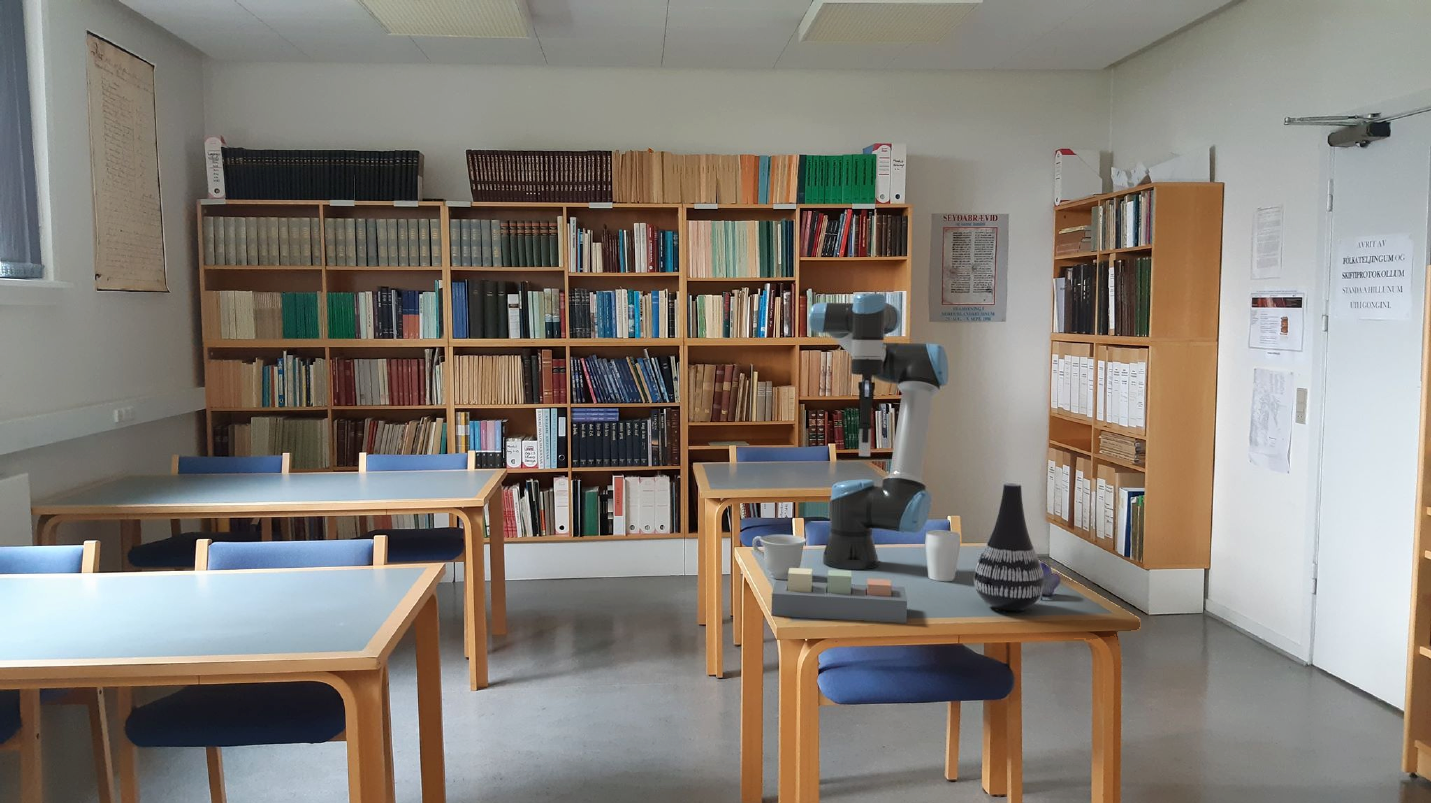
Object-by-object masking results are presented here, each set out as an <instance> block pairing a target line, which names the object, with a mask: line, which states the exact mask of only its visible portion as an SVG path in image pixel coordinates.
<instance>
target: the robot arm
mask: <svg viewBox="0 0 1431 803" xmlns="http://www.w3.org/2000/svg"><path fill="white" fill-rule="evenodd" d="M808 315H809V316H808V322H809V323H808V324H809V326H810V329H811V331H813V333H814V332H815V333H820V334H824V333H825V334H828V335H829V336H830V337H831V338H832V339H833V340H834V341H836V342H837V344H839V346H841V347H842V348H843V350H845V351H846V353H847V354H849V355H850V356H851V357H852V360H851V363H850V364H851V366H850V368H851V369H850V370H851V371H850V372H851V374H852V375H857V376H859V375H860V376H861V381H858V382H857V383H858V384H857V388H858V399H859V401H860V412H859V413H860V418H859V419H860V420H859V426H858V425H857V427H856V429H857V430H859V440H858V456H859V457H871V444H872V443H871V442H872V429H874V425H872V409H873V408H872V402H873V401H874V397H875V394H874V391H875V390H876V383H875V381H872V379H876V380H878V381H880V382H884V383H887V384H897V388H898V390H899V392H900V393H901V398H900V404H899V410H898V418H897V424H896V429H895V430H896V431H895V437H894V444H893V448H892V449H893V451H892V456H891V462H890V469H889V474H888V475H886V476H884V478H882V484H881V486H877V485H876V486H875V483H874V480H872V479H867V478H866V479H863V478H862V479H851V480H843V481H838V482H835V483H834V484H833V485H832V486H831V491H830V492H831V493H830V499H829V500H830V517H829V518H830V520H829V522H830V525H829V528H830V529H829V536H828V539H827V542H826V545H825V549H824V551H823V554H822V563H823V564H824V565H826V566H827V567H828V566H829V567H831V568H837V569H842V570H843V569H845V570H869V569H873V568H876V567H877V566H878V565H879V555H878V553H877V550H876V549H877V548H876V546H875V542H874V539H873V538H874V537H873V529H874V530H882V531H891V532H892V531H893V532H899V533H903V534H906V533H912V534H916V533H918V532H921V531H922V529H923V528H924V527H925V526H926V523H927V521H928V518H929V515H930V511H931V505H932V504H931V501H932V498H931V497H932V496H931V493H930V492H929V491H928V490H927V485H926V483H925V482H924V481H923V479H922V476H923V469H924V468H923V467H924V463H925V462H924V460H925V456H926V455H925V454H926V448H927V441H928V434H929V427H930V426H929V425H930V419H931V413H932V407H933V406H932V405H933V399H934V398H935V397H936V396H937V395H939V394H940V390H941V387H944V386H947V384H948V381H949V362H948V357H947V353H946V349H945V348H944V347H943V345H941V344H938V343H937V344H936V343H928V342H927V343H919V342H917V343H913V342H912V343H908V342H884V340H885V335H888V334H890V333H893V332H894V331H896V330H897V329H898V327H899V326H900V323H901V314H900V311H899V310H898V308H897V307H895V306H894V305H892V304H890V303H889V302H888V303H887V302H886V297H885V295H884V294H882V293H869V292H868V293H867V292H866V293H856V294H855V295H854V296H853V302H827V301H826V302H817V303H813V305H812V306H811V307H810V310H809V314H808Z"/></svg>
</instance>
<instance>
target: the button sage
mask: <svg viewBox="0 0 1431 803" xmlns="http://www.w3.org/2000/svg"><path fill="white" fill-rule="evenodd" d="M827 583H828V587H827V593H835V594H851V584H852V571H851V570H843V569H842V570H841V569H840V570H839V569H828V572H827Z"/></svg>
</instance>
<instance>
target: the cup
mask: <svg viewBox="0 0 1431 803" xmlns="http://www.w3.org/2000/svg"><path fill="white" fill-rule="evenodd" d="M924 547H925V556H926V566H927V576H928V579H929V580H933V581H936V582H952V581H954V580H955V576H956V571H957V566H958V561H959V555H960V550H961V549H960V548H961V534H960V533H959V532H957V531H953V530H947V529H946V530H945V529H933V530H932V529H931V530H927V531H925V539H924Z"/></svg>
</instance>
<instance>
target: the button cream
mask: <svg viewBox="0 0 1431 803" xmlns="http://www.w3.org/2000/svg"><path fill="white" fill-rule="evenodd" d="M787 581H788V591H798V592H812V582H813V568H801V567H799V568H789V572H788V579H787Z"/></svg>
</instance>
